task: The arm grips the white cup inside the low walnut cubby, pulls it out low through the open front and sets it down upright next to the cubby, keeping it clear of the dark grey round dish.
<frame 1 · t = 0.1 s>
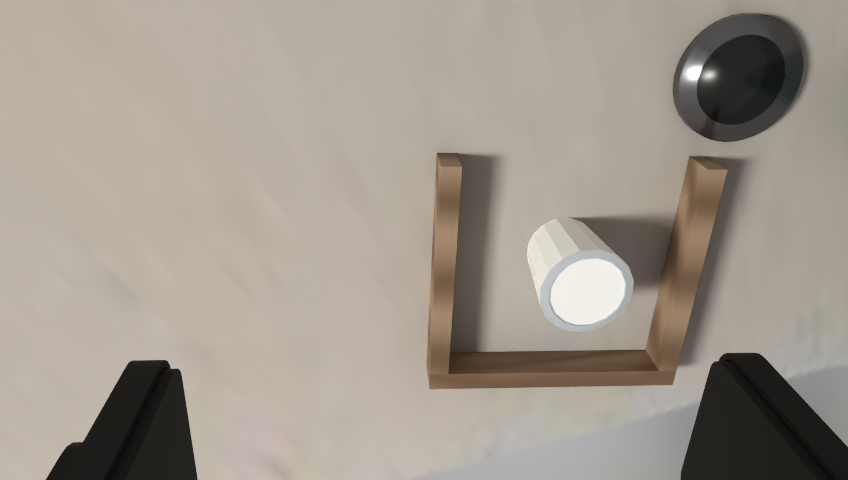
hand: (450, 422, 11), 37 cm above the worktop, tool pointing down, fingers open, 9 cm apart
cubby: (559, 260, 52), on the worktop
white cup: (560, 248, 52), on the worktop
dark grey round dish: (733, 78, 47), on the worktop
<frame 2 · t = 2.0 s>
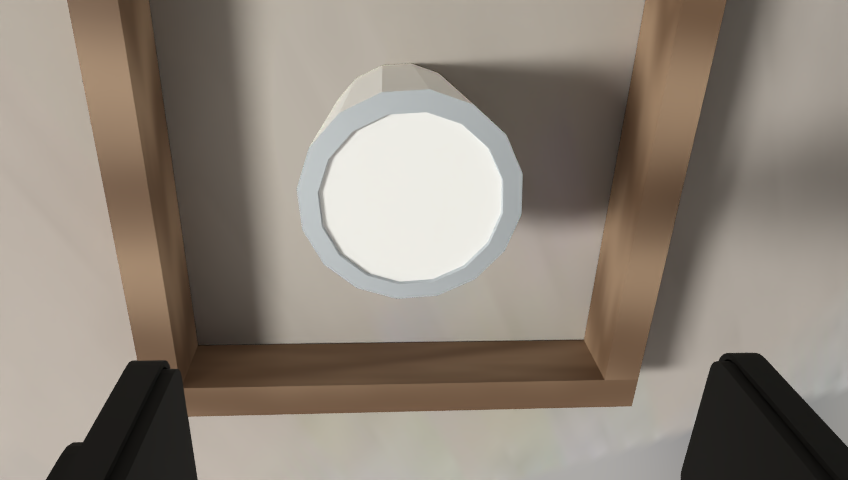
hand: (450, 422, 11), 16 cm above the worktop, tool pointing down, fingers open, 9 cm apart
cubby: (400, 158, 26), on the worktop
white cup: (400, 133, 26), on the worktop
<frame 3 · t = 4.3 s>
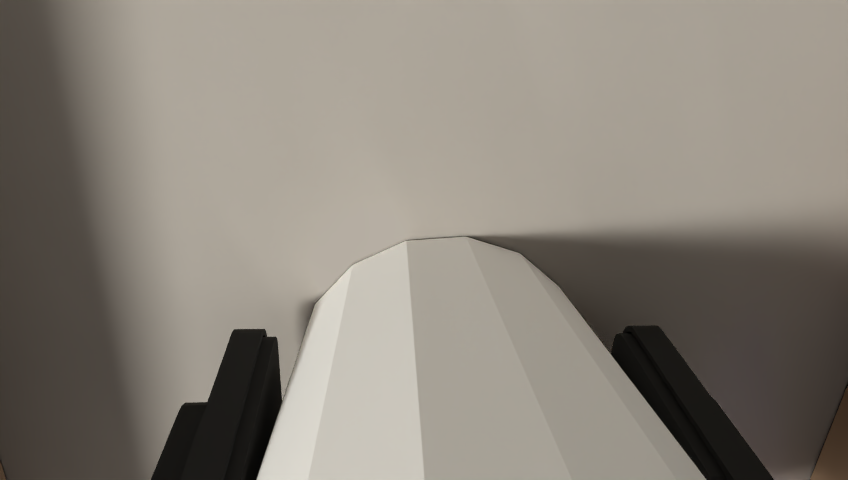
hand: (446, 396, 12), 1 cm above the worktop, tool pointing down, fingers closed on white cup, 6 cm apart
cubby: (438, 401, 13), on the worktop
white cup: (439, 356, 13), on the worktop, touching gripper
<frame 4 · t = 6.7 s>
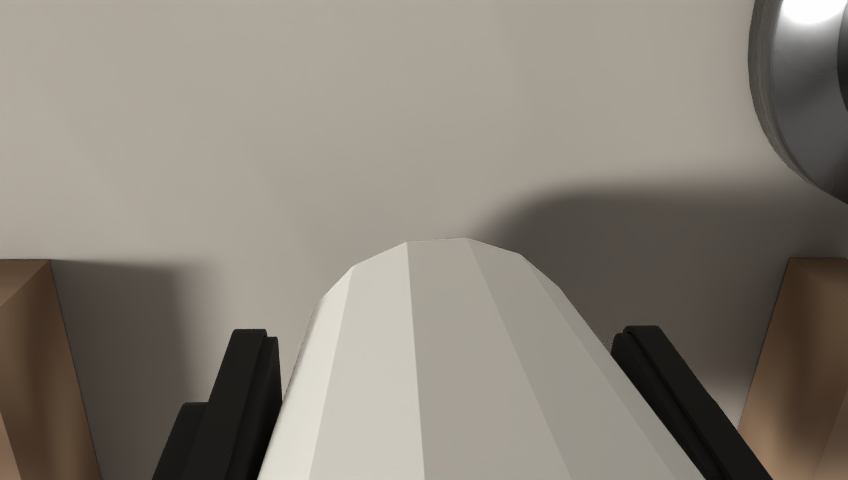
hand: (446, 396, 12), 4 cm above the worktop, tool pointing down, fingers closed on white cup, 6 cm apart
white cup: (439, 356, 13), point 3 cm above the worktop, touching gripper
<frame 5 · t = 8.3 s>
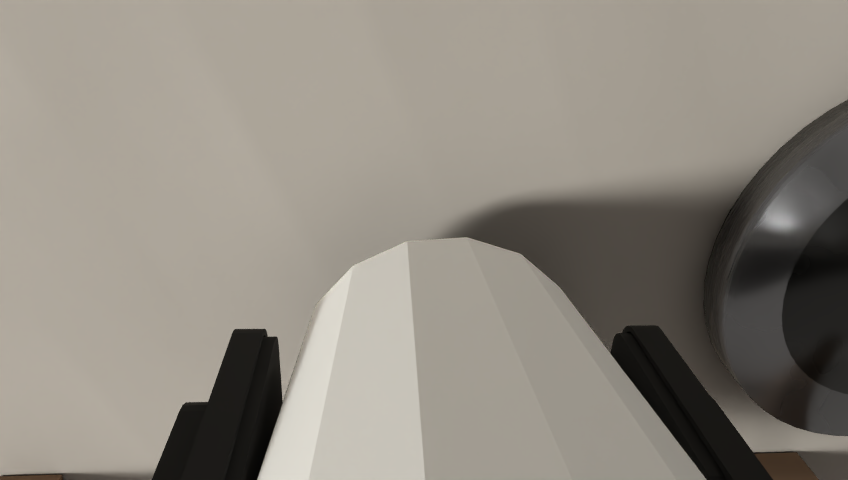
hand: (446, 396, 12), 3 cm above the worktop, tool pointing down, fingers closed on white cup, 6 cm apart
white cup: (440, 356, 13), point 2 cm above the worktop, touching gripper
when the fingers open (2 cm above the worktop, at t = 9.3 s): white cup stays where it is, on the worktop.
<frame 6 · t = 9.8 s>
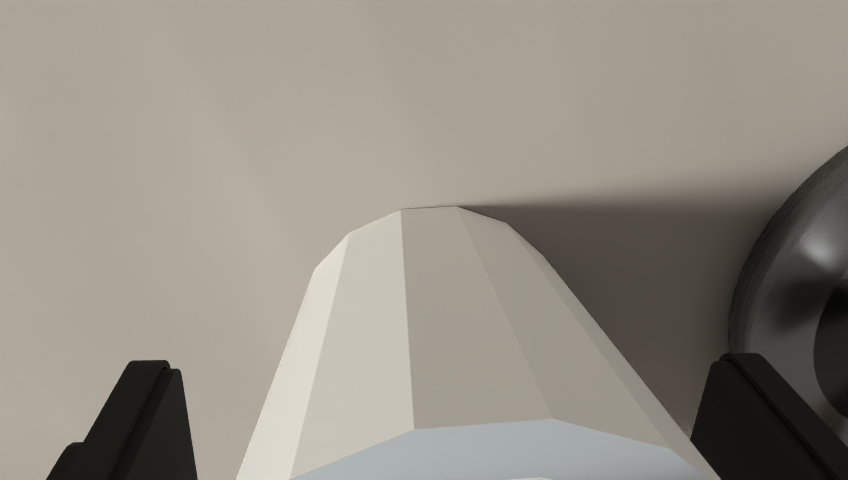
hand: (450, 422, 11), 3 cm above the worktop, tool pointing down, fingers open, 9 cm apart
white cup: (430, 321, 14), on the worktop
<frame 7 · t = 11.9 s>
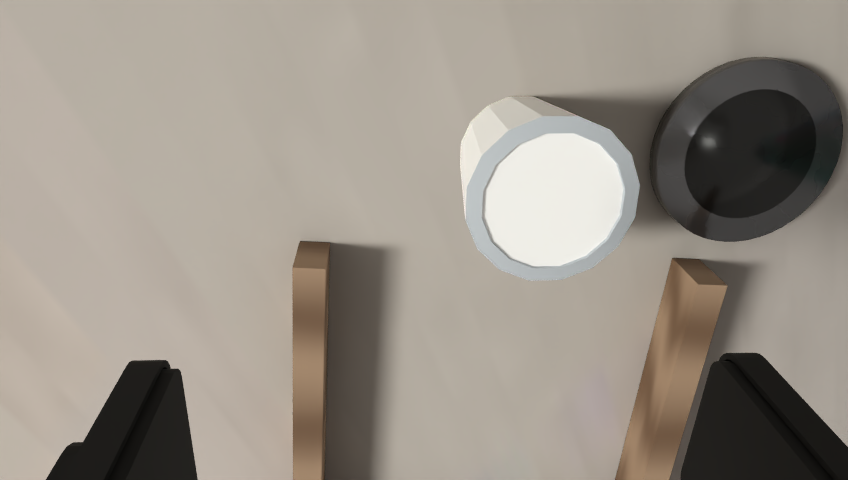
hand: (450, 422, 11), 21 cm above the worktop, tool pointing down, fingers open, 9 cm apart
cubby: (485, 393, 37), on the worktop
white cup: (516, 152, 31), on the worktop
dark grey round dish: (739, 150, 32), on the worktop
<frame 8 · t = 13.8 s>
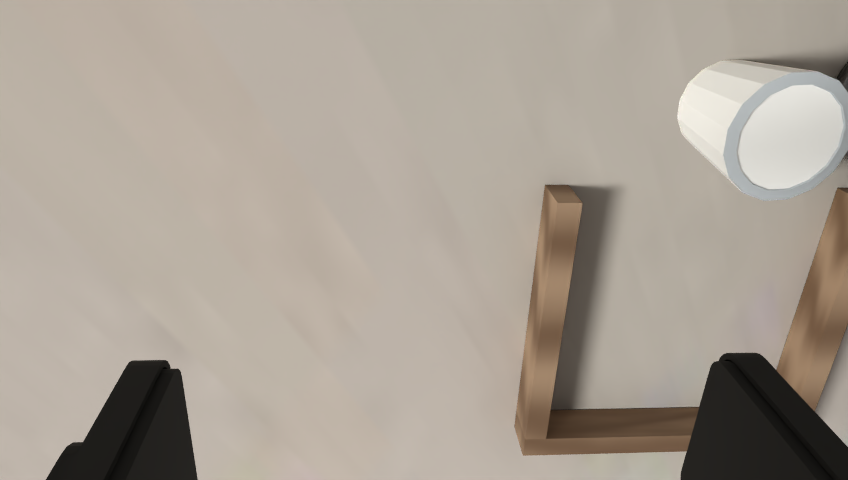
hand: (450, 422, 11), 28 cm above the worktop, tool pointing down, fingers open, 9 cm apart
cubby: (676, 306, 45), on the worktop
white cup: (721, 105, 39), on the worktop
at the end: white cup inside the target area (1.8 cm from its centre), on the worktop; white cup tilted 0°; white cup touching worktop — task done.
